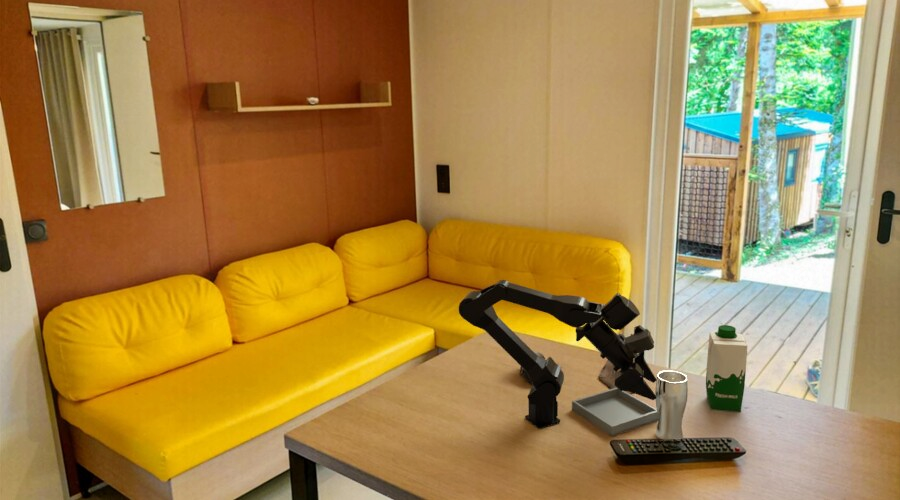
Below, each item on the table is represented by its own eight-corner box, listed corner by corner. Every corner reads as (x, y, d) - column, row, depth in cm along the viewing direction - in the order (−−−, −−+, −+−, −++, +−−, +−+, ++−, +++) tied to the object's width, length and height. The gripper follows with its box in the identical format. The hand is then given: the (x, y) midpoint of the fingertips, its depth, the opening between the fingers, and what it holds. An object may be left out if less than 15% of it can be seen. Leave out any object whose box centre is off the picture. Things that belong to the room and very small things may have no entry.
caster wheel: (548, 394, 176) (513, 385, 178) (555, 370, 185) (522, 362, 188) (551, 375, 173) (516, 366, 175) (558, 351, 182) (524, 344, 185)
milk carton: (738, 397, 164) (744, 325, 160) (745, 414, 156) (751, 338, 151) (702, 395, 167) (707, 323, 162) (707, 411, 158) (712, 336, 153)
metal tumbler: (660, 425, 152) (662, 367, 149) (689, 434, 148) (692, 374, 145) (648, 437, 147) (651, 378, 144) (678, 446, 143) (682, 385, 139)
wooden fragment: (642, 398, 167) (642, 394, 166) (599, 396, 169) (599, 392, 168) (633, 359, 191) (633, 356, 191) (596, 358, 193) (596, 354, 193)
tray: (612, 436, 148) (612, 426, 148) (571, 410, 161) (572, 401, 161) (659, 420, 155) (659, 410, 154) (617, 395, 168) (617, 387, 167)
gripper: (631, 334, 135) (684, 387, 134) (634, 306, 152) (680, 353, 152) (593, 365, 139) (644, 416, 139) (600, 335, 157) (645, 380, 156)
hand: (655, 389), depth 146 cm, fingers open, 9 cm apart
